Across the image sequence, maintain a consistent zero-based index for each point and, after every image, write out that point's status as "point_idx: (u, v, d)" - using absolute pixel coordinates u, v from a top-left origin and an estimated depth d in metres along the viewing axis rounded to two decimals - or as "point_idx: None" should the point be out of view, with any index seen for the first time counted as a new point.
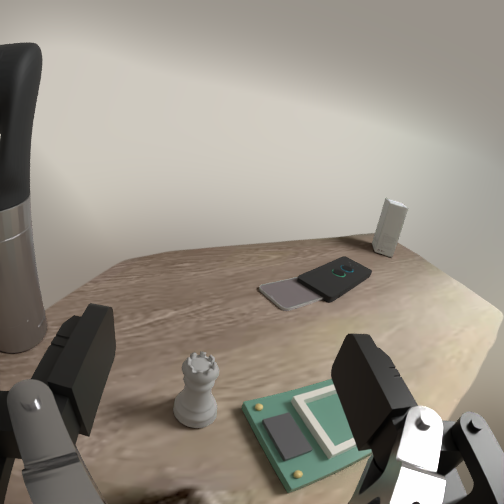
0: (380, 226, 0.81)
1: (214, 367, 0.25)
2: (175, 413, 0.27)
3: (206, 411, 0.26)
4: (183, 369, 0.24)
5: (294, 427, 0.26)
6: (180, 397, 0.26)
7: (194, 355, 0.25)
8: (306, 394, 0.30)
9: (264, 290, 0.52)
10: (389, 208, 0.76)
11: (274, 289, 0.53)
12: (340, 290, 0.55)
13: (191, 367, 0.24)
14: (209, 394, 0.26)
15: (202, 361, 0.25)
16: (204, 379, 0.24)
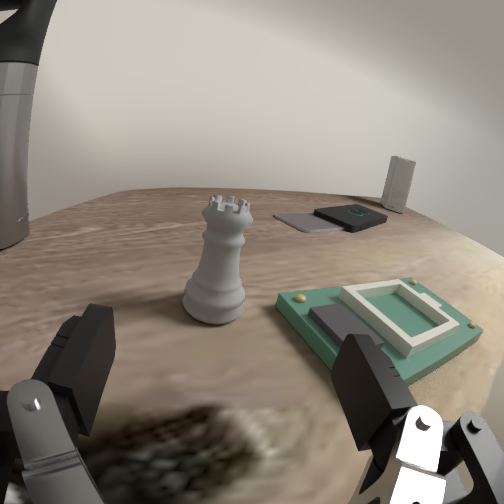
0: (389, 182, 0.76)
1: (247, 207, 0.19)
2: (185, 304, 0.21)
3: (232, 293, 0.20)
4: (204, 212, 0.19)
5: (353, 318, 0.21)
6: (194, 275, 0.21)
7: (219, 197, 0.19)
8: (356, 286, 0.25)
9: (280, 216, 0.46)
10: (397, 162, 0.72)
11: (291, 217, 0.47)
12: (361, 223, 0.50)
13: (217, 202, 0.18)
14: (237, 261, 0.20)
15: (230, 204, 0.19)
16: (234, 218, 0.18)
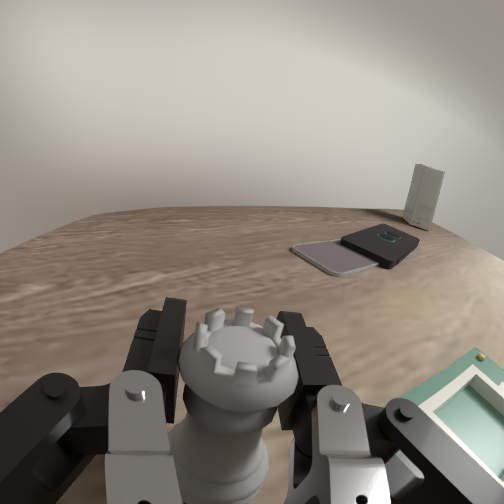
0: (414, 194, 0.65)
1: (289, 352, 0.07)
2: None
3: (248, 476, 0.09)
4: (183, 365, 0.07)
5: None
6: (175, 443, 0.09)
7: (218, 318, 0.08)
8: (432, 400, 0.13)
9: (300, 251, 0.35)
10: (424, 171, 0.60)
11: (314, 251, 0.36)
12: (398, 255, 0.39)
13: (213, 355, 0.07)
14: (259, 435, 0.09)
15: (245, 335, 0.08)
16: (259, 395, 0.06)
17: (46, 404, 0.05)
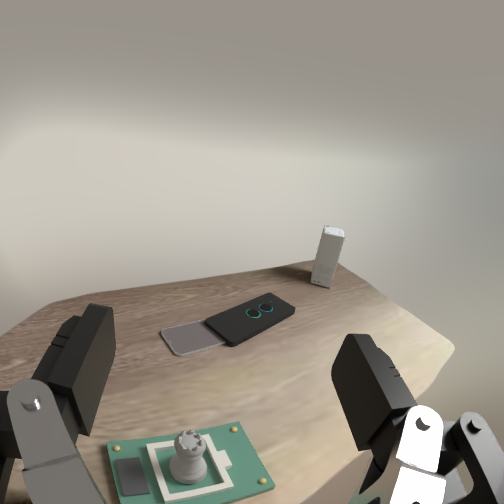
0: (317, 256, 0.82)
1: (201, 444, 0.25)
2: (171, 472, 0.27)
3: (197, 472, 0.27)
4: (175, 445, 0.25)
5: (139, 470, 0.26)
6: (174, 461, 0.27)
7: (184, 433, 0.26)
8: (158, 444, 0.30)
9: (164, 335, 0.52)
10: (323, 238, 0.77)
11: (175, 334, 0.53)
12: (246, 334, 0.56)
13: (182, 445, 0.25)
14: (199, 460, 0.27)
15: (191, 438, 0.26)
16: (193, 454, 0.25)
17: None
